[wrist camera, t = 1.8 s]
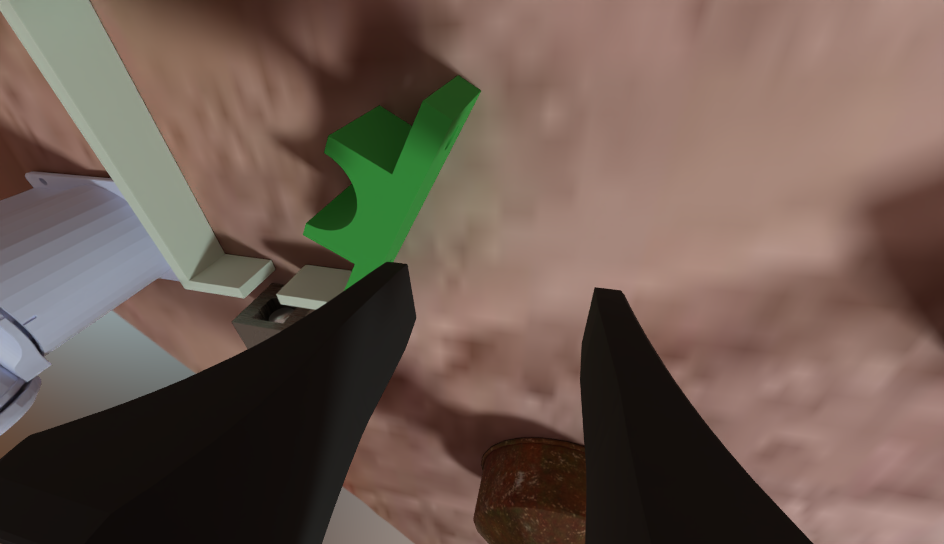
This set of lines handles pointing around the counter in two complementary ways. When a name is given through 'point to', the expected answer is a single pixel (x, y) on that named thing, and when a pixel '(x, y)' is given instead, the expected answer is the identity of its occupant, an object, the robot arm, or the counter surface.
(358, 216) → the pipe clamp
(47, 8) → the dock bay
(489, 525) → the oil lamp
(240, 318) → the pin mount
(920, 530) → the counter surface
